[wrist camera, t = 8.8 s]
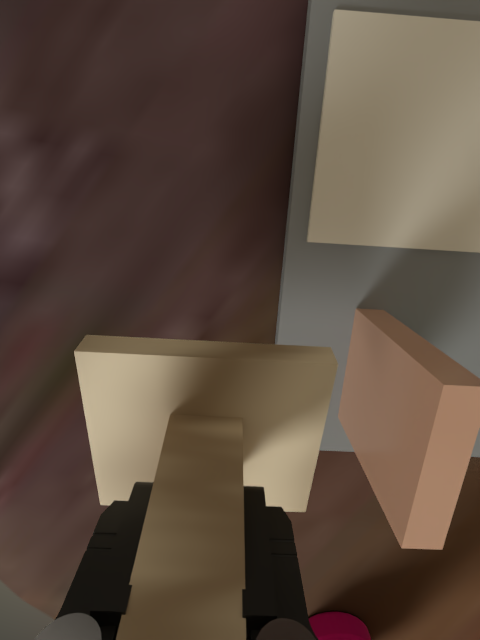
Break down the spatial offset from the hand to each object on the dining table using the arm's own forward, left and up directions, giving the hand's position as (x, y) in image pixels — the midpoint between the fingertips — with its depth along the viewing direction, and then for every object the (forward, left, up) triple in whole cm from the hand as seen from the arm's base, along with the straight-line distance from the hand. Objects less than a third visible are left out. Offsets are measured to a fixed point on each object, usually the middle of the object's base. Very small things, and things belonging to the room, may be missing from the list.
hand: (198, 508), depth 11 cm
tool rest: (-10, -12, -11) cm, 19 cm away
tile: (-9, 0, -11) cm, 14 cm away
